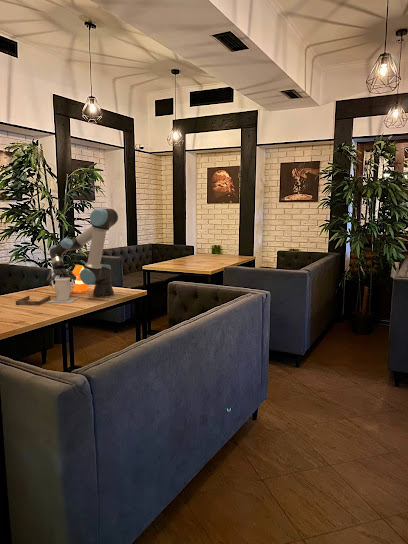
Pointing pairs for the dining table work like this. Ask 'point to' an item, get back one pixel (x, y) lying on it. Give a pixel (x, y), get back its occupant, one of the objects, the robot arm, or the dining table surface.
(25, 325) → the dining table surface
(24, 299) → the dark brown wooden board
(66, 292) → the jar
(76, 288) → the orange juice
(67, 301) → the grey mat
